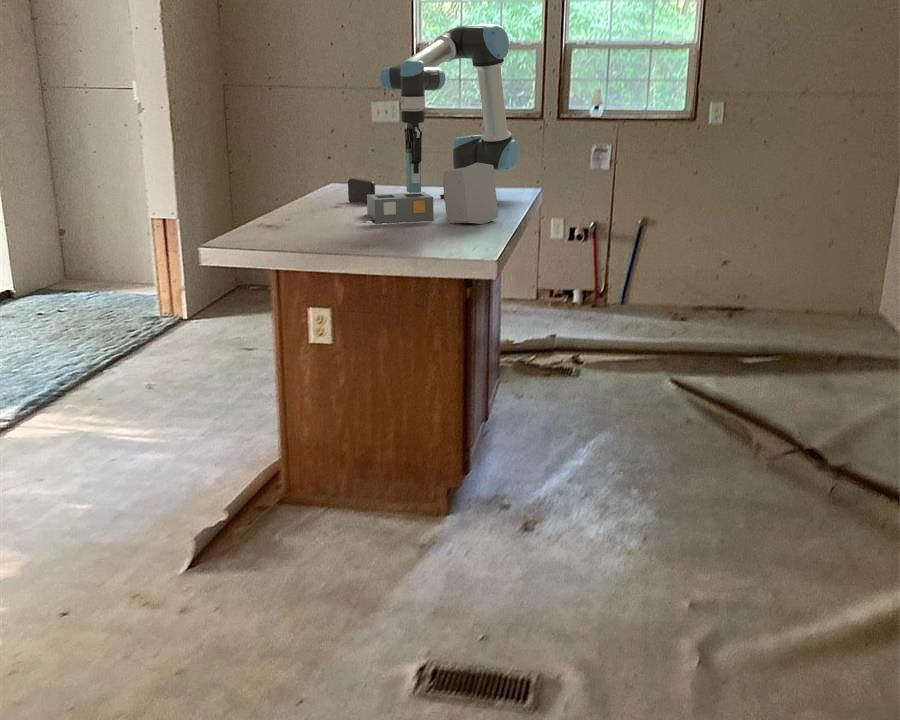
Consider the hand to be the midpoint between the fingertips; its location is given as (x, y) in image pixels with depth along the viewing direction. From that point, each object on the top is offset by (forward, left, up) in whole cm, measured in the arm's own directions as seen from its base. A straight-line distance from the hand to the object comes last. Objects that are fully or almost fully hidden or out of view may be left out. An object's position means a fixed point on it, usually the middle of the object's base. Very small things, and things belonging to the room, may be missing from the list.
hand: (413, 182), depth 299 cm
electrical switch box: (-16, +9, -13) cm, 22 cm away
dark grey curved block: (+11, -35, -13) cm, 39 cm away
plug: (0, 0, -3) cm, 3 cm away
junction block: (+5, 0, -12) cm, 13 cm away
